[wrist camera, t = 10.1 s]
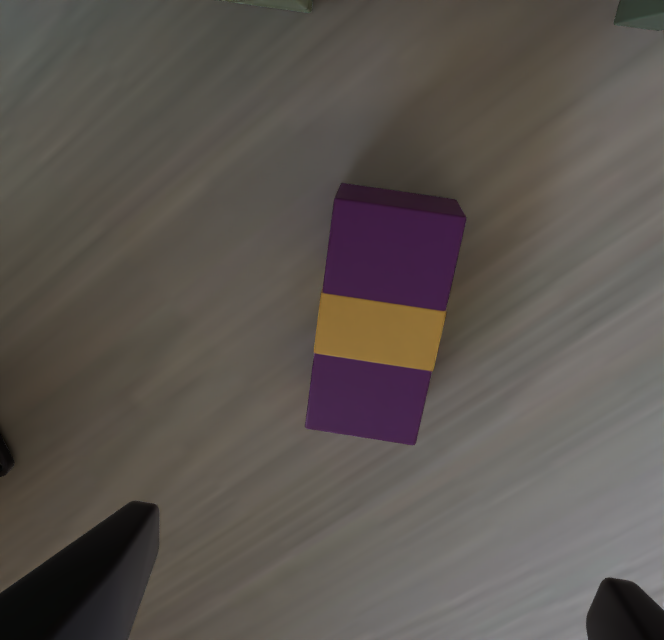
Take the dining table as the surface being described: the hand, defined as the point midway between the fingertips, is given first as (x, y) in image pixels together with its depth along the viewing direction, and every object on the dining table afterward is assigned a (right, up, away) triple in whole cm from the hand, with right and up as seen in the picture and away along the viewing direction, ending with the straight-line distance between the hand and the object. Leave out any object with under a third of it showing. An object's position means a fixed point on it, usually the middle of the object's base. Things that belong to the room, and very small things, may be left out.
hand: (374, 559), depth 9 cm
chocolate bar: (+1, +4, +10) cm, 11 cm away
